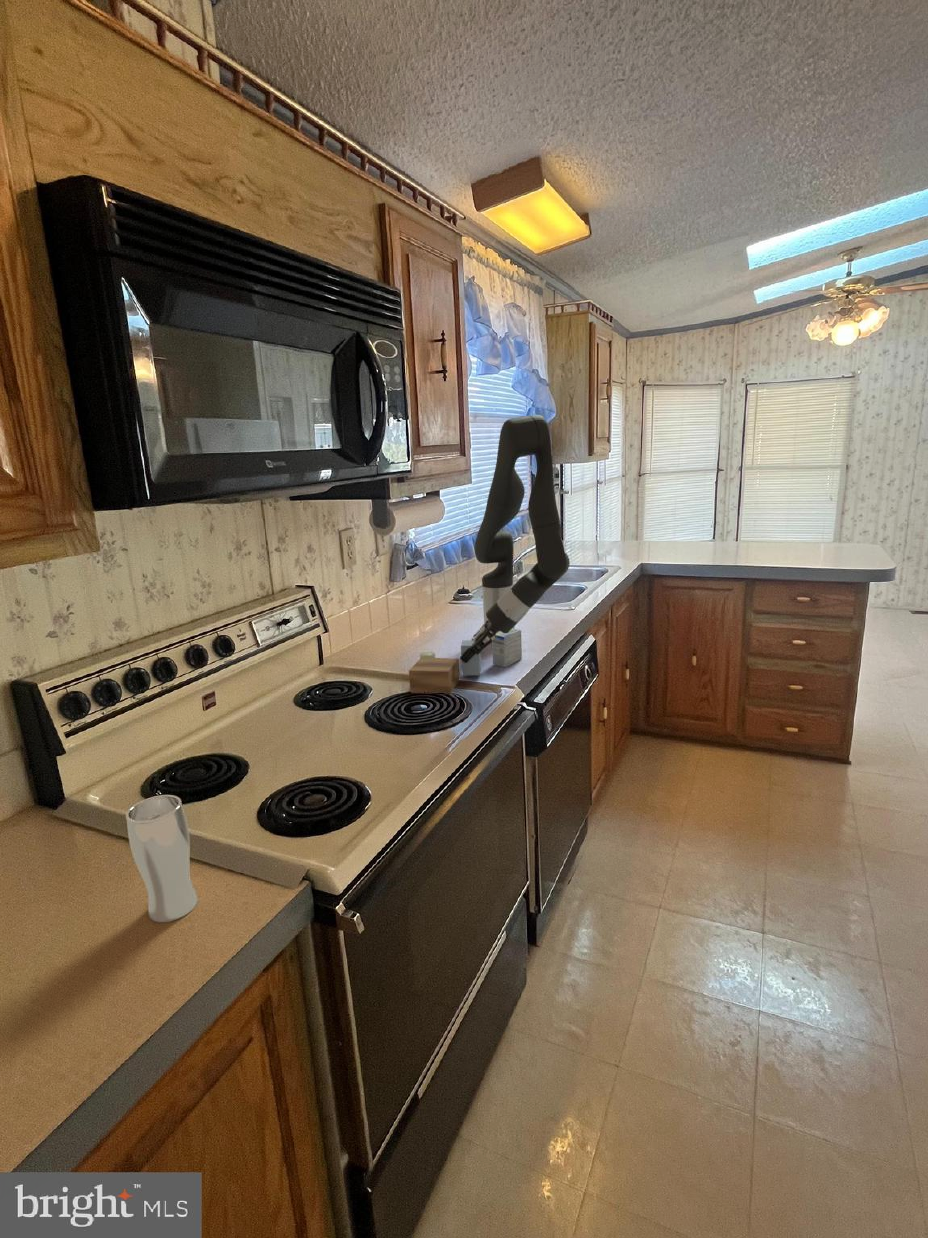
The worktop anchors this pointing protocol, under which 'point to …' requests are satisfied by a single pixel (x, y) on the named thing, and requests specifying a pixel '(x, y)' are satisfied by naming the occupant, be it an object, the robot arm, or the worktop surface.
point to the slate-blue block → (474, 663)
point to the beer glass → (162, 855)
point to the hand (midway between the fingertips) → (463, 657)
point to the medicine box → (507, 648)
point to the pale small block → (427, 655)
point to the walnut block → (434, 675)
